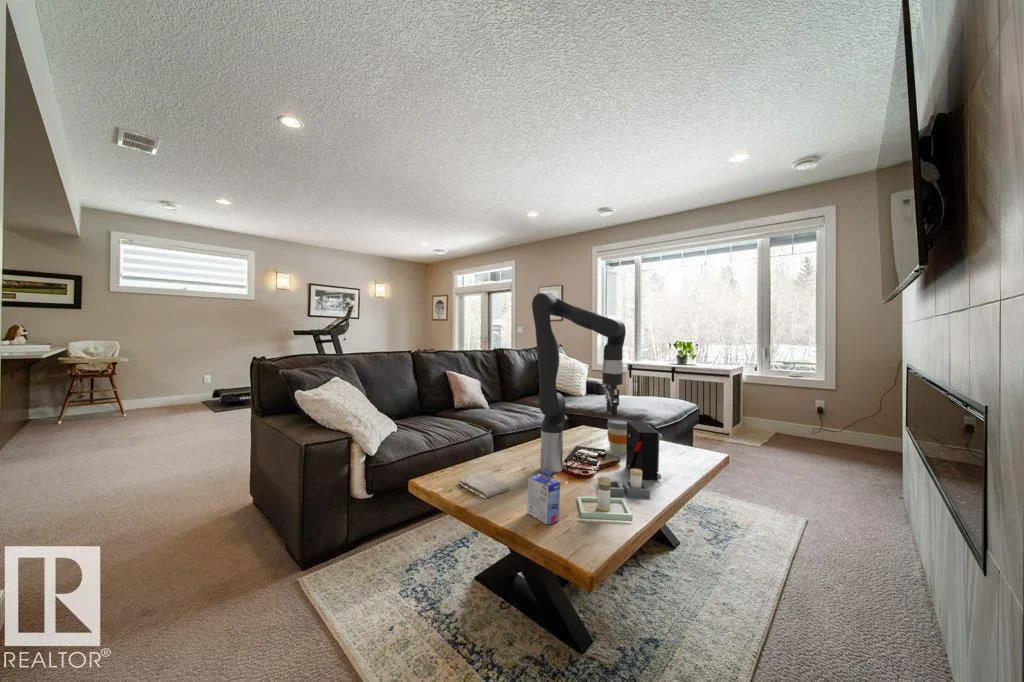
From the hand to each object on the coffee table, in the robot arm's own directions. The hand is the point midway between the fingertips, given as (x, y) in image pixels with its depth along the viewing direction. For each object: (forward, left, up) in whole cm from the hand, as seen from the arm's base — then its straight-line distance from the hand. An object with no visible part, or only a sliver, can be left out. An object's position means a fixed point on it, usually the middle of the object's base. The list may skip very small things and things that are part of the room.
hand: (611, 413), depth 147 cm
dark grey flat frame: (-6, +29, -29) cm, 42 cm away
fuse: (-6, -21, -28) cm, 35 cm away
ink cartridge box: (-26, -27, -28) cm, 47 cm away
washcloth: (-48, -6, -29) cm, 57 cm away
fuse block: (+3, -7, -28) cm, 29 cm away
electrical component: (+16, +14, -28) cm, 35 cm away
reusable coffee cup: (+13, +45, -28) cm, 55 cm away
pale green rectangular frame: (-6, -21, -28) cm, 36 cm away
